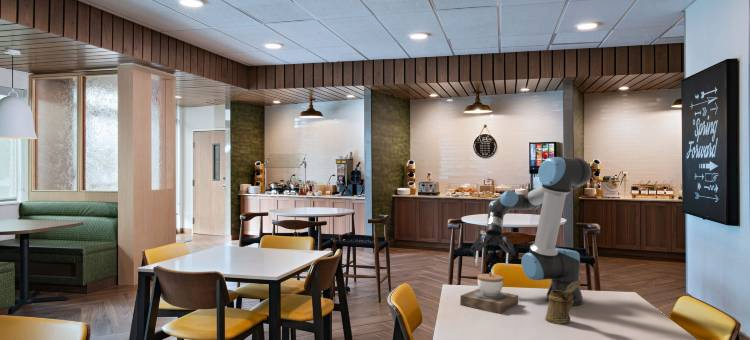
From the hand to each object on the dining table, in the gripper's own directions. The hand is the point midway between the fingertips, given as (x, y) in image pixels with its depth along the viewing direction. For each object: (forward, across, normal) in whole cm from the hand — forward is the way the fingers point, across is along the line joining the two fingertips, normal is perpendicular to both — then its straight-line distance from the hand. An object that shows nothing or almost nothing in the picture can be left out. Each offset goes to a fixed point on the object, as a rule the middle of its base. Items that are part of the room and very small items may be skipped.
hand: (491, 265), depth 231 cm
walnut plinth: (+20, -1, 0) cm, 20 cm away
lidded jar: (+17, -1, +3) cm, 18 cm away
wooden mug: (+31, -29, +10) cm, 44 cm away
